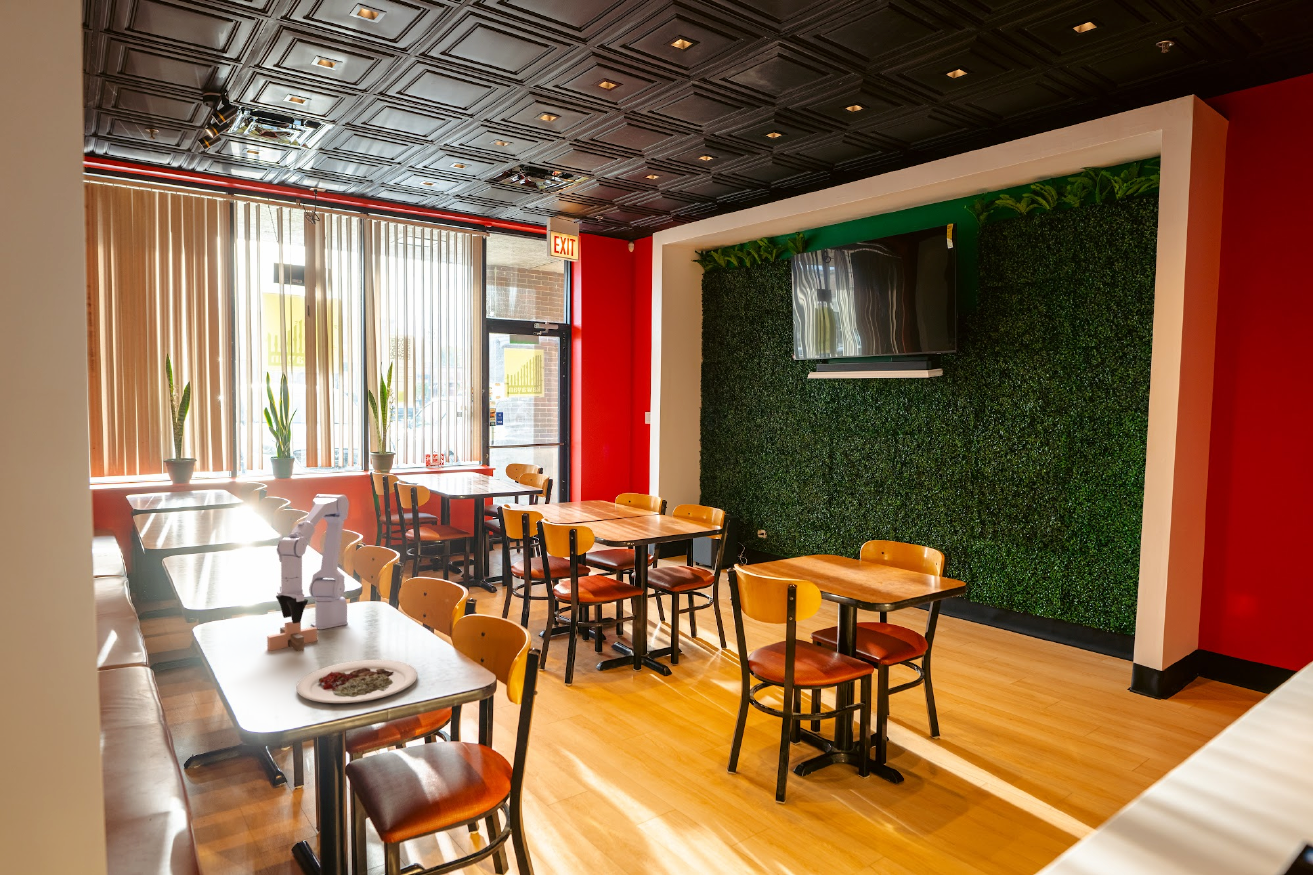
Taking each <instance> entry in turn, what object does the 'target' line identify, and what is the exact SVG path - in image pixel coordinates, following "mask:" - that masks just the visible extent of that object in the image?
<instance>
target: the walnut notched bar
mask: <svg viewBox="0 0 1313 875" xmlns="http://www.w3.org/2000/svg"><path fill="white" fill-rule="evenodd" d="M281 633H285V626H282V627H280V628H279V634H281ZM288 647H290V648H291V649H293V650H294V651H296V652H300V651H304V650H305V643H304V637H303V636H302V635H300V634H298V633H294V634H291V639H290V640H288Z"/></svg>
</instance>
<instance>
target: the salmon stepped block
mask: <svg viewBox="0 0 1313 875" xmlns="http://www.w3.org/2000/svg"><path fill="white" fill-rule="evenodd" d="M301 623H302V621H301V622H299V623H293V622H292V621H289V622H284V627H285V633H281V634H280V633H276V634H272V635H268V636H267V637H266V638H267V641H266V642H267V643H266V644H267V645H266V646H267V647H266V649H267V650H268V651H269V652H270V651H271V652H272V651H275V650H276V651H277V650H279V649H285V648H288V647H289V646H288V640H290V639H291V634H294V633H298V634H300V635H302V636H303V637H304V644H308V643H312V642H318V628H316V627H314V626H312V627H308V628H307V627H306V628H303V629H301V628H302V626H301Z"/></svg>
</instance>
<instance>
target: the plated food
mask: <svg viewBox="0 0 1313 875" xmlns="http://www.w3.org/2000/svg"><path fill="white" fill-rule="evenodd" d="M417 679H418V671H417V668H415V666H412V665H411V664H408V663H406V662H403V661H402V662H401V661H398V660H397V661H396V660H391V659H361V660H354V661H353V660H352V661H347V662H346V661H345V662H341V663H335V664H332V665H328V666H325V667H322V668H320V669H317V670H314V671H312V672H310V673H308V674H307V675H304V676H303V677H302V678H301V679H300V680H299V681H297V682H298V683H297V685H296V692H297V693H298V694H299V696H301V697H302V698H304V699H306V700H310V701H313V702H319V703H327V704H328V703H329V704H348V703H349V704H350V703H361V702H366V701H373V700H377V699H381V698H384V697H385V698H386V697H388V696H391V695H395V694H396V693H397V694H398V693H399V692H402V691H404V690H405V689H407V688H409V687H410V686H411V685H413V684H414V682H416V680H417Z"/></svg>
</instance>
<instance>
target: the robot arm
mask: <svg viewBox="0 0 1313 875" xmlns="http://www.w3.org/2000/svg"><path fill="white" fill-rule="evenodd" d="M311 507H312V508H311V509H310V511H309V513H308V514H307V516H306V518H305V519H304V520H302V521H299V522H298V523H297V524H296V525H295V526H294V528H293V529H291V530H292V531H291V532H290V533H289V534H288V535H287V537H283V538H281V539H280V540H279V541H278V543H277V548H276V553H277V555H278V560H279V562H280V563H281V564H280V565H281V566H280V569H281V570H280V571H281V572H280V574H281V575H280V576H281V579H280V580H281V582H280V583H281V584H280V585H281V586H279V591H277V592H276V593H277V594H276V596H275V598H276V600H277V601H278V603H279V605H280V609H281V613H282V617H283V618H284V619H286V618H291V622H293V623H299V622H301V623H302V617H303V614H304V611H305V608H306V605H307V604H308V602H309V600H308V599H307V598H305V594H304V590H303V555H304V554H305V553H306V550H307V546H308V542H309V541H310V540H311V538H312V537H313V535H314V534H315V532H316V528H315V527H316V526H317V525H318V523H320V521H321V520H322V519H323V520H325V522H326V530H325V537H324V544H323V552H322V559H321V566H320V569H319V570H317V571H316V572H315V573H313V575H312V579H311V582H310V584H309V588H308V592H309V595H310V597H311V598H313V601H315V602H314V604H315V606H314V607H315V609H314V610H315V617H314V620H315V621H314V622H311V623H310V626H312V627H316V628H317V630H325V629H330V628H334V627H340V626H344V625H345V626H346V625H348V624H349V622H348V602H347V600H346V598H345V597H344V596H343V595H344V593H345V590H346V586H345V576H344V575H343V573H341V572H340V571H339V570H338V566H339V561H340V560H339V559H340V553H341V552H340V551H341V546H342V544H341V543H342V536H343V528H344V523H345V520H347V519H348V516H349V510H350V509H349V507H350V501H349V499H348V497H347V495H345V494H325V493H324V494H321V493H318V494H316V495H315V496H314V498H313V499H312V506H311Z"/></svg>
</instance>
